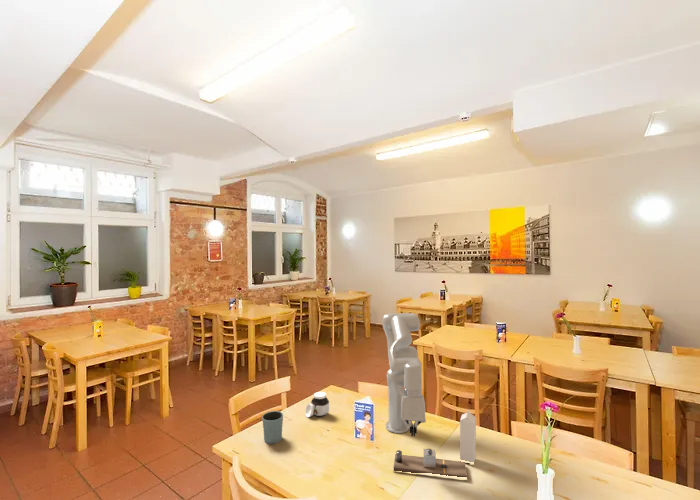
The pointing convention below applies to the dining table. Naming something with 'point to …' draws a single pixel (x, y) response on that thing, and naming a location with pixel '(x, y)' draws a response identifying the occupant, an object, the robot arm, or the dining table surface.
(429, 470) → the board
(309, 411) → the spread jar
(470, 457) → the milk
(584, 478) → the dining table surface
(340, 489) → the dining table surface
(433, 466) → the sliding leg
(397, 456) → the fixed leg
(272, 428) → the blue-grey cup
